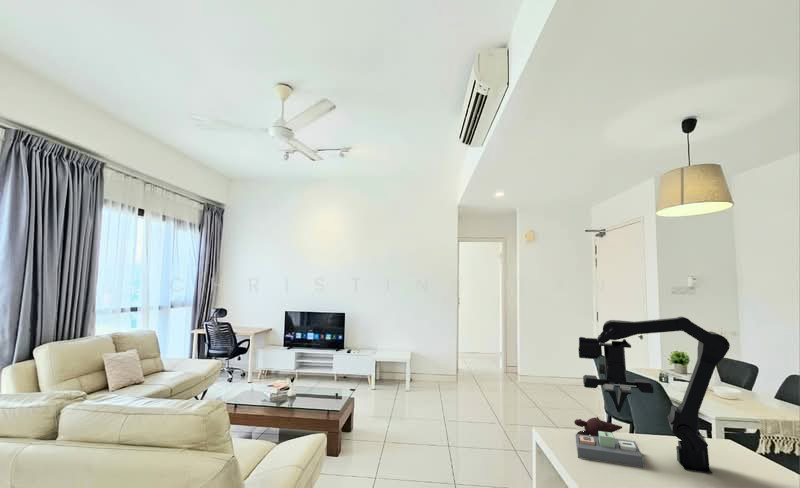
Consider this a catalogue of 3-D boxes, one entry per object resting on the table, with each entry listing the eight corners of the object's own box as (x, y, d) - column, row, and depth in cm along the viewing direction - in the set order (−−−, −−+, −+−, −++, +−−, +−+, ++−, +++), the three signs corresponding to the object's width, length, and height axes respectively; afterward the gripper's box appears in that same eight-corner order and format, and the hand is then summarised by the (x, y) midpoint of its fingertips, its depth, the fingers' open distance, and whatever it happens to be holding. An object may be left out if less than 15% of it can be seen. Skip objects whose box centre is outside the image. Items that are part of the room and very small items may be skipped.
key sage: (613, 445, 117) (612, 432, 117) (615, 450, 113) (614, 436, 114) (599, 443, 118) (598, 430, 119) (600, 448, 115) (599, 435, 115)
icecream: (615, 415, 132) (570, 416, 134) (623, 416, 125) (575, 418, 127) (621, 437, 129) (575, 438, 132) (628, 440, 123) (580, 441, 125)
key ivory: (634, 455, 115) (633, 441, 115) (637, 461, 111) (636, 447, 111) (619, 453, 116) (618, 439, 117) (621, 459, 112) (620, 445, 113)
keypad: (635, 451, 117) (635, 441, 118) (643, 467, 107) (642, 456, 108) (576, 443, 124) (575, 433, 124) (578, 457, 114) (577, 447, 114)
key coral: (594, 449, 119) (593, 436, 119) (595, 455, 115) (594, 441, 116) (580, 447, 120) (579, 434, 121) (581, 453, 117) (580, 439, 117)
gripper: (643, 358, 123) (647, 407, 121) (580, 354, 130) (583, 401, 128) (651, 365, 113) (656, 419, 111) (583, 360, 120) (586, 411, 118)
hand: (618, 411), depth 117 cm, fingers closed
